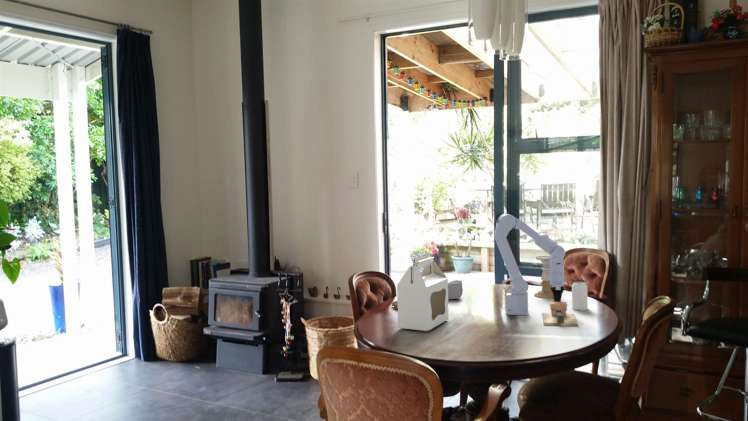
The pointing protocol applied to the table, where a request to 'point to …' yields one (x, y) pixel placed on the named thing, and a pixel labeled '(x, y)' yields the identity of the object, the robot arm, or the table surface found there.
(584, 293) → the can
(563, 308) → the block
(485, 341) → the table surface
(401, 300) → the gable box
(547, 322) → the rail board
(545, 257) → the candle holder
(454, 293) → the decorative stone
